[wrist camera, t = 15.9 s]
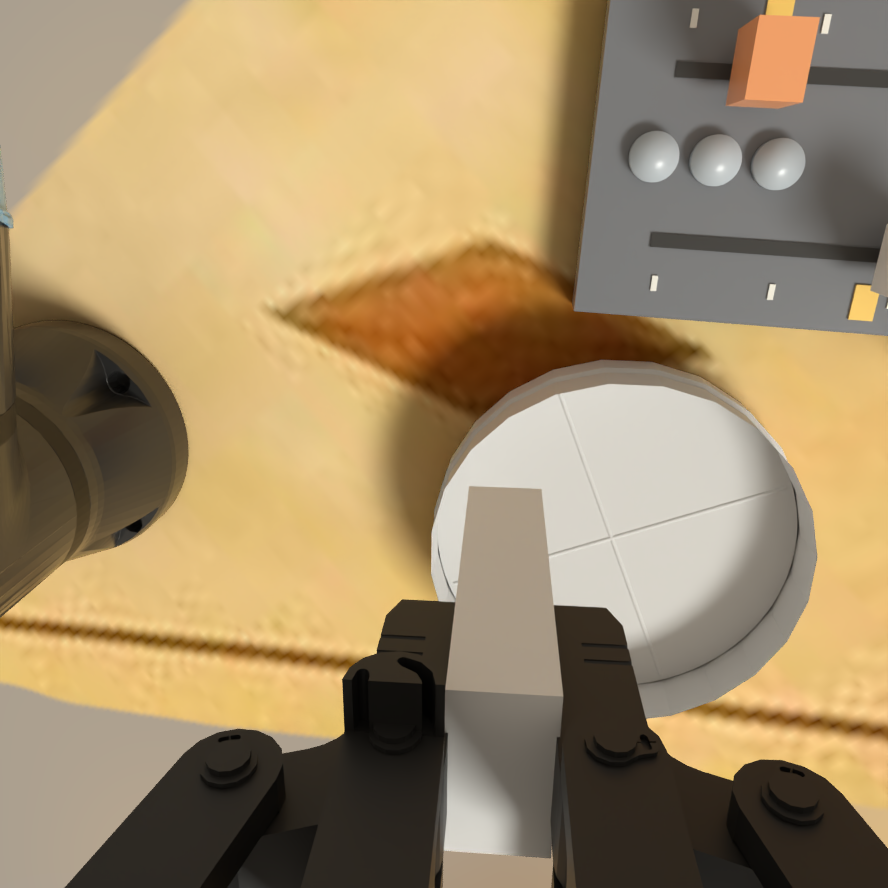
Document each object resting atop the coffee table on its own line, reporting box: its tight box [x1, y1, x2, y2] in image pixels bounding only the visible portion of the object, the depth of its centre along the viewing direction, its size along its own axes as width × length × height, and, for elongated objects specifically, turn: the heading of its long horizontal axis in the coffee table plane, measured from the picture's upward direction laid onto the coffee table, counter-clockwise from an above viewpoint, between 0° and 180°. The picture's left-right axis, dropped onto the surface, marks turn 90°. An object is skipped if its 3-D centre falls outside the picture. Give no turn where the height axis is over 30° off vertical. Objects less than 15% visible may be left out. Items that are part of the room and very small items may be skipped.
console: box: [572, 0, 888, 336], centre depth 39 cm, size 20×16×3 cm
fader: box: [726, 15, 820, 109], centre depth 34 cm, size 2×3×5 cm
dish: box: [431, 360, 817, 719], centre depth 46 cm, size 22×22×5 cm
